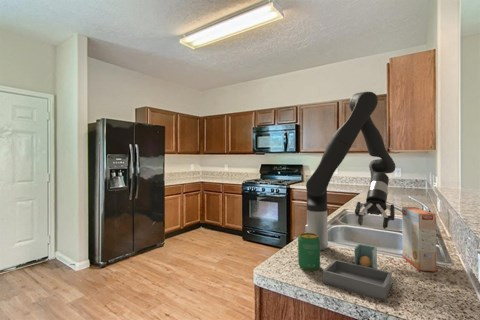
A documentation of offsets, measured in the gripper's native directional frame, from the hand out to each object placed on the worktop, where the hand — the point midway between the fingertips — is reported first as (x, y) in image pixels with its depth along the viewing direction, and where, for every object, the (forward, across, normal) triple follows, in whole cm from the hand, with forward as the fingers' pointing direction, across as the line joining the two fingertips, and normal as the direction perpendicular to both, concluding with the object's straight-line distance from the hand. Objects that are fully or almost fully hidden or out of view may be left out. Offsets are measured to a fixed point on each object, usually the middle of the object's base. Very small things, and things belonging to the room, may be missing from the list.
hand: (372, 226), depth 100 cm
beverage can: (+24, -18, -4) cm, 30 cm away
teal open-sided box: (+18, 0, +2) cm, 18 cm away
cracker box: (+4, +14, +16) cm, 22 cm away
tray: (+26, 0, -6) cm, 27 cm away
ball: (+16, 0, -1) cm, 16 cm away
